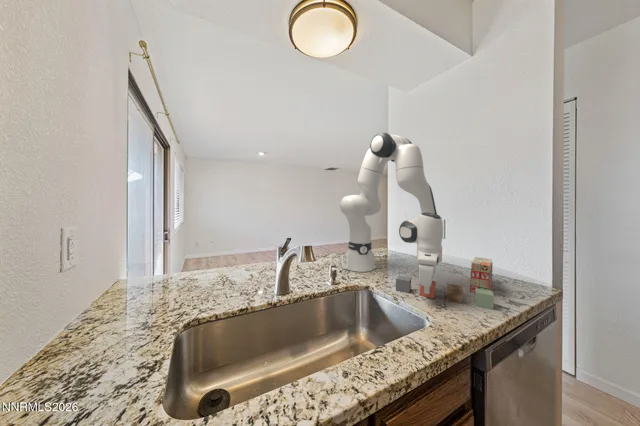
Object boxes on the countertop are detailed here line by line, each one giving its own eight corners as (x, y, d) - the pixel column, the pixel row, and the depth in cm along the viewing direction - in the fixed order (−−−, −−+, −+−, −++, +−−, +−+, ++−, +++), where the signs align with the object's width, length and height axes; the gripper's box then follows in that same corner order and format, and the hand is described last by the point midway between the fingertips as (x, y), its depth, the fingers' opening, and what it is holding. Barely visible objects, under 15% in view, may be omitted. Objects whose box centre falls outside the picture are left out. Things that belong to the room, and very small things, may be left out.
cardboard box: (475, 279, 113) (477, 253, 112) (492, 282, 109) (493, 255, 108) (469, 292, 96) (471, 262, 95) (488, 296, 92) (490, 264, 91)
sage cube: (475, 306, 83) (476, 292, 82) (474, 301, 87) (475, 288, 87) (493, 310, 80) (493, 295, 80) (491, 304, 84) (491, 290, 84)
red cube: (419, 295, 91) (420, 282, 91) (421, 291, 96) (421, 279, 96) (434, 298, 89) (434, 285, 89) (435, 293, 93) (435, 281, 93)
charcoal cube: (395, 291, 96) (396, 278, 96) (398, 287, 100) (398, 275, 100) (408, 293, 93) (409, 281, 93) (410, 289, 98) (411, 277, 97)
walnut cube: (446, 300, 87) (446, 287, 87) (446, 296, 91) (447, 283, 91) (462, 304, 85) (462, 290, 84) (461, 299, 89) (462, 285, 89)
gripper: (423, 249, 102) (422, 281, 103) (416, 259, 84) (415, 297, 85) (439, 251, 99) (438, 284, 100) (436, 262, 81) (434, 301, 82)
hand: (427, 290), depth 92 cm, fingers closed on red cube, 5 cm apart
